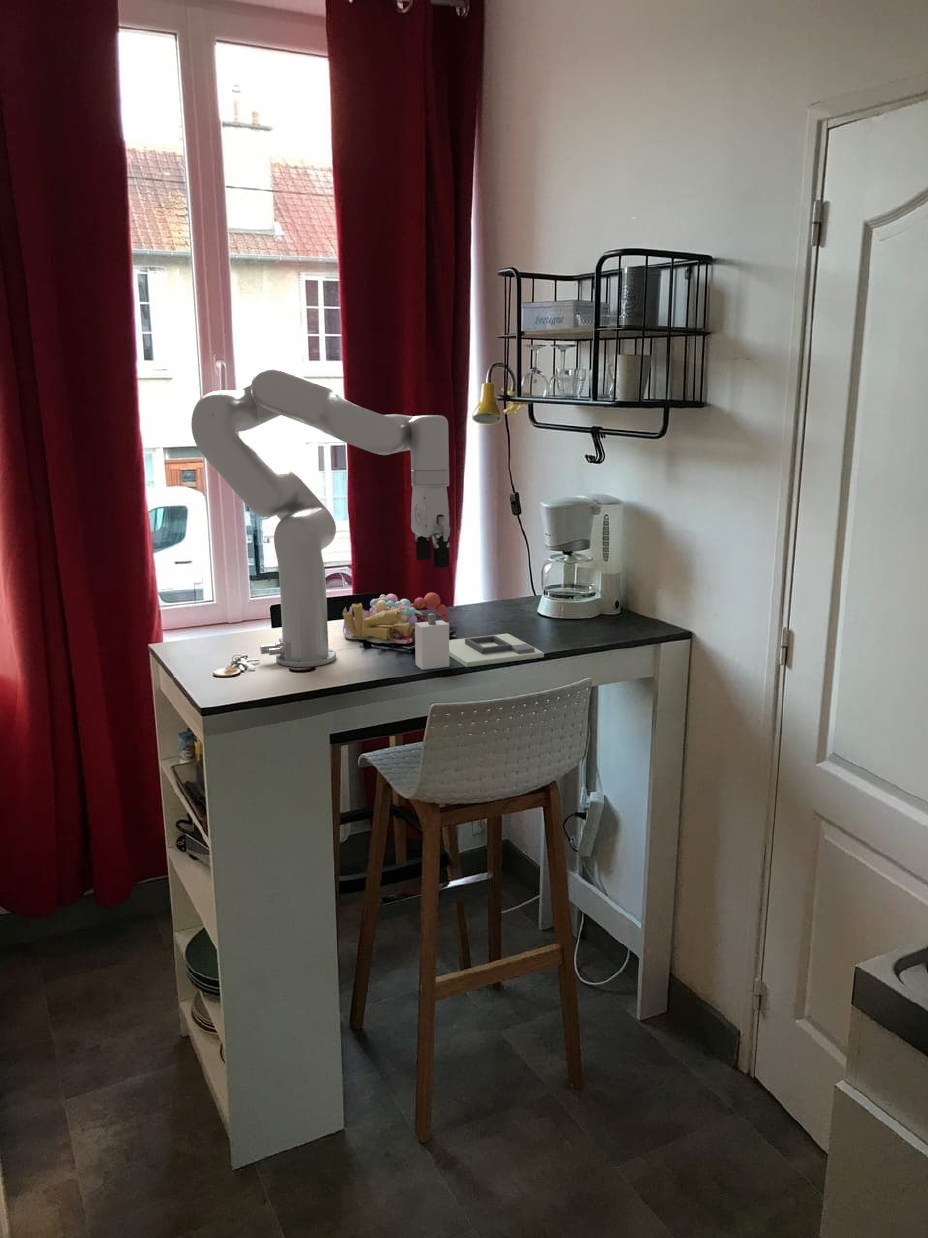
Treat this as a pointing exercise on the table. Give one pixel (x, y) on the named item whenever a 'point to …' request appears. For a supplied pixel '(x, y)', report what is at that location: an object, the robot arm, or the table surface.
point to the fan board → (491, 650)
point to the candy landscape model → (390, 618)
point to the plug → (432, 643)
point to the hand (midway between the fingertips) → (432, 563)
